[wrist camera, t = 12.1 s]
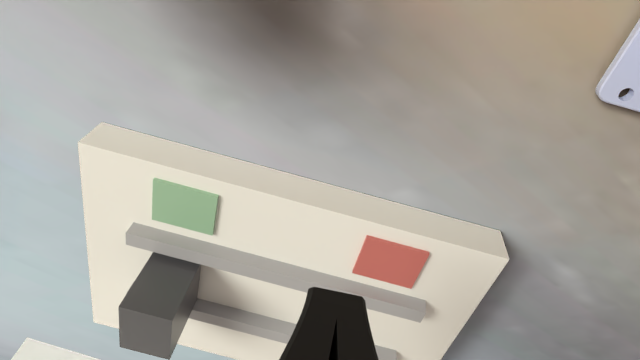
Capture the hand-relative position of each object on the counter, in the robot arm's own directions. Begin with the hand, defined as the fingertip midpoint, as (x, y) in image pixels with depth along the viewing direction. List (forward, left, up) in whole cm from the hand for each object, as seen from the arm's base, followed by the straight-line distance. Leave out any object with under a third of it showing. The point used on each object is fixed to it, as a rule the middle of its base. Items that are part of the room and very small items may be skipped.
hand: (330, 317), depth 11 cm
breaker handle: (+7, +10, -8) cm, 14 cm away
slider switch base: (+2, +10, -10) cm, 14 cm away
